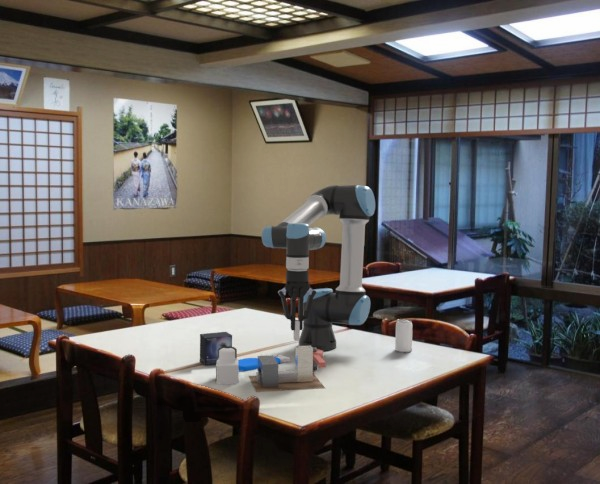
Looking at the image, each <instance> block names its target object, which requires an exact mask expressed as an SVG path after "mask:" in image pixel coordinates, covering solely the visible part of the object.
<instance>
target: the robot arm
mask: <svg viewBox="0 0 600 484" xmlns="http://www.w3.org/2000/svg"><path fill="white" fill-rule="evenodd" d="M375 211H376V199H375V195H374V192H373V190H372V188H370V187H369V186H367V185H360V184H358V185H354V184H353V185H349V184H348V185H335V184H334V185H329V186H326V187H323V188H320V189H319V190H317V191H316V192H313V193H312V194H311V195H310V196H308V197H307V198H306V200H305V203H304V204H302V205H300V206H299V207H298V208H297V209H296V210H295V211H293V212H292V213H290V215H288V216H287V217H286V218H284V219H283V220H281V222H280V223H278V224H277V225H276V226H274V225H271V226H267V225H266V227H264V228H263V229H262V232H261V243H262V244H263V246H265V247H266V248H272V249H286V256H285V260H286V261H285V268H286V269H287V270H286V271H285V283H284V287H283V288H281V289H278V291H277V294H278V295H279V297H280V299H281V304H282V308H283V312H284V318H286V320H290V330H291V331H293V340H294V341H295V342H296V341H297V342H298V346H311V347H316V348H317V349H319V350H322V351H323V352H324V351H331V350H335V349H336V348H337V339H336V335H335V333H334V332H335V331H334V330H333V329H334V328H333V323H334V324H343V325H350V326H361V325H363V324H364V323H365V322H366V321H367V319H368V317H369V314H370V311H371V310H370V309H371V299H370V297H369V296H368V295H366V289H365V288H364V287H363V271H364V269H363V268H364V251H365V250H364V249H365V248H364V247H365V234H366V233H365V231H366V229H365V227H366V224H367V223H369V221H370V217H372V216H373V215H374V214H375ZM329 215H330V216H331V215H333V216H335V215H337V216H338V215H339V217H338V219H339V221H340V222H341V223H342V235H341V236H342V238H341V253H340V254H341V255H340V257H341V258H340V275H339V285H338V286H337V287H336V288H335V292H334V290H333V289H332V288H328V287H325V288H316V289H313V288H312V287H311V285H310V284H309V283H310V282H309V278H310V277H309V275H310V272H309V270H308V269H309V268H310V267H309V265H310V264H309V262H310V258H309V257H310V251H313V250H314V251H316V250H319V249H321V248H323V247H324V246H325V244H326V241H327V234H326V232H325V231H324V230H323V229H322V228H320V227H314V226H313V227H310V225H312V224H313V223H314V222H315V221H317V220H318V219H321V218H324V217H325V216H329ZM286 294H288V296H290V310H289V307H288V306H289V305H288V302H287V298H286ZM297 302H298V303H297ZM296 304H297V309H296ZM296 311H297V312H296ZM296 313H298V314H297V319H296ZM300 331H301V332H300Z"/></svg>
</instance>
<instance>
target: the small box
mask: <svg viewBox="0 0 600 484" xmlns="http://www.w3.org/2000/svg"><path fill="white" fill-rule="evenodd" d="M225 346H231V347H233V335H232V334H231V333H229V332H228V331H221V332H211V333H210V332H209V333H201V334H199V363H201V364H202V365H204V366H206V365H207V366H214V365H215V366H216V363H217V360H218V349H219V348H221V347H225Z"/></svg>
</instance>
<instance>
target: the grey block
mask: <svg viewBox="0 0 600 484" xmlns="http://www.w3.org/2000/svg"><path fill="white" fill-rule="evenodd" d="M274 357H275V356H274V355H257V358H258V369H257V372H261V386H262V388H274V387H278V371H279V364H278V363H277V361H276V360H275V358H274Z"/></svg>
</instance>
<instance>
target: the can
mask: <svg viewBox="0 0 600 484" xmlns="http://www.w3.org/2000/svg"><path fill="white" fill-rule="evenodd" d="M394 341H395V346H394V347H395V351H396V352H398V351H399V353H411V351H413V350H412V349H413V323H412V320H411V319H407V318H406V319H405V318H400V319H399V318H398V319H396V322H395V340H394Z"/></svg>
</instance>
